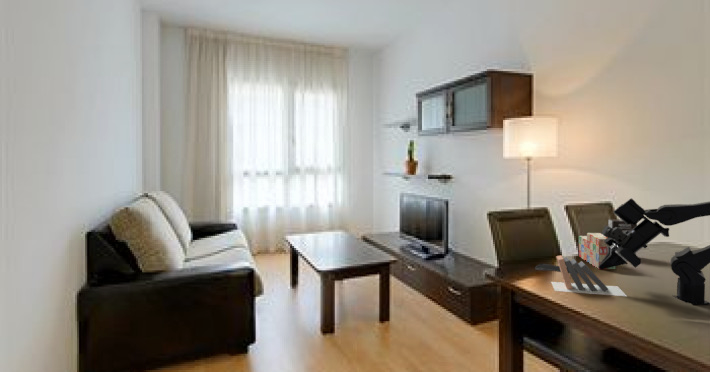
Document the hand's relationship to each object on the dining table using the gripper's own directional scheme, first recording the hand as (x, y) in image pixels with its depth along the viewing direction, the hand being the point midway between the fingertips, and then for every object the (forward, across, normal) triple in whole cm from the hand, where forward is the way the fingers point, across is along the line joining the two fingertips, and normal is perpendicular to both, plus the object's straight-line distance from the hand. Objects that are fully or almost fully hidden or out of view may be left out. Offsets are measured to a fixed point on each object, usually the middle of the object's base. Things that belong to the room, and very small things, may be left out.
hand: (599, 268), depth 129 cm
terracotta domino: (+11, 0, -2) cm, 11 cm away
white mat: (+8, 0, +3) cm, 8 cm away
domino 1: (+8, 0, +1) cm, 9 cm away
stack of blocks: (0, -39, +11) cm, 41 cm away
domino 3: (+4, 0, +6) cm, 7 cm away
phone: (+12, -24, 0) cm, 26 cm away
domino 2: (+6, 0, +3) cm, 7 cm away
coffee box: (-8, -52, +20) cm, 56 cm away
